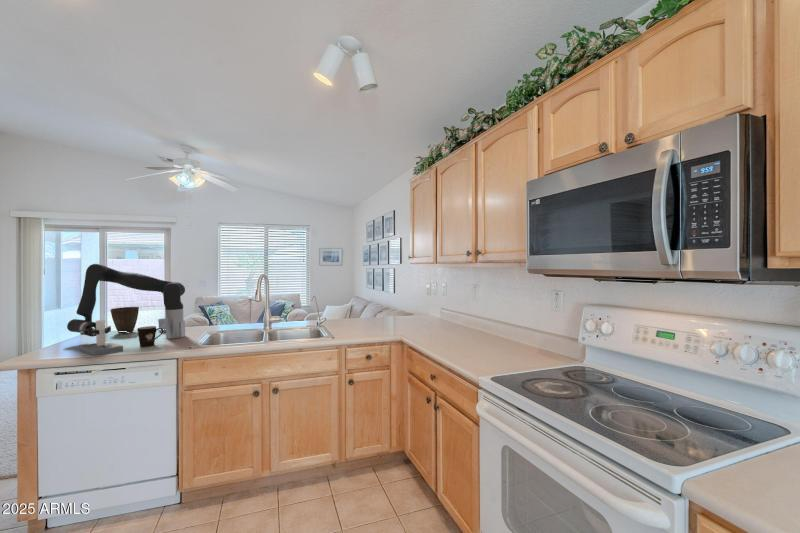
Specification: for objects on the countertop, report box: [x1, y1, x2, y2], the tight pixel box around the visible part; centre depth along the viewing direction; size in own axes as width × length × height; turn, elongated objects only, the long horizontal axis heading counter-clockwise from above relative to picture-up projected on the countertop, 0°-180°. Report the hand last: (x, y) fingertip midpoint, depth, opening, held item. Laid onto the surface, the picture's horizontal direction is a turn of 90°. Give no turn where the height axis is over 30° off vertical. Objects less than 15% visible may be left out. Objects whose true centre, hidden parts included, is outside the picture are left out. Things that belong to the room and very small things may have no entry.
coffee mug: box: [136, 325, 164, 348], centre depth 203 cm, size 12×9×10 cm
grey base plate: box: [79, 340, 124, 357], centre depth 192 cm, size 20×12×3 cm, turn 56°
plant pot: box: [110, 306, 140, 335], centre depth 239 cm, size 15×15×16 cm
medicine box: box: [158, 317, 166, 333], centre depth 244 cm, size 8×4×9 cm, turn 168°
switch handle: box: [95, 319, 106, 346], centre depth 192 cm, size 2×3×13 cm
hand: (102, 331), depth 191 cm, fingers closed on switch handle, 3 cm apart
